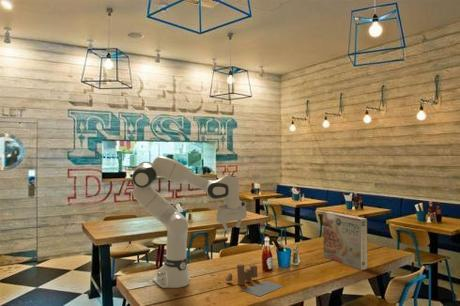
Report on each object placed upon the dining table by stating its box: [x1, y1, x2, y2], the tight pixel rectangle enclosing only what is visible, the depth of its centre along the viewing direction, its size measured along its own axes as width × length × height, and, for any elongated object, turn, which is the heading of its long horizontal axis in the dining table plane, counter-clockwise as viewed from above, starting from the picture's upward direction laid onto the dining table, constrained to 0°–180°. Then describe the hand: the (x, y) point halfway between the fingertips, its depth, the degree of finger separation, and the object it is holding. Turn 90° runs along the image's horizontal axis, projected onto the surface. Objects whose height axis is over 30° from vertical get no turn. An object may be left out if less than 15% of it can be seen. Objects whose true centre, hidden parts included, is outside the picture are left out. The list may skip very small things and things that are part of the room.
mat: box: [241, 280, 284, 297], centre depth 191 cm, size 12×20×1 cm, turn 135°
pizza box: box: [323, 211, 368, 271], centre depth 233 cm, size 32×5×32 cm, turn 28°
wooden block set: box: [225, 263, 259, 286], centre depth 201 cm, size 18×9×10 cm, turn 114°
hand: (232, 228), depth 201 cm, fingers open, 8 cm apart
